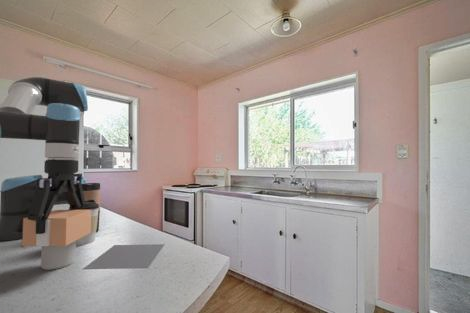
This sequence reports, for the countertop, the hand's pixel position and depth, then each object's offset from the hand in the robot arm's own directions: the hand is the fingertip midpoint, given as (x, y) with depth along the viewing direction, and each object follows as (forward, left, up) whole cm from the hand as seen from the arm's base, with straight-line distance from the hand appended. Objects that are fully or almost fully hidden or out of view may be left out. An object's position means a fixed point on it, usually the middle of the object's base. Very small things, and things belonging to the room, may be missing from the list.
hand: (59, 238), depth 61 cm
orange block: (0, 0, 0) cm, 0 cm away
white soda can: (0, 0, -8) cm, 8 cm away
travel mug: (-30, -10, -8) cm, 33 cm away
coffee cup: (-17, -4, -8) cm, 19 cm away
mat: (-5, +17, -8) cm, 19 cm away
